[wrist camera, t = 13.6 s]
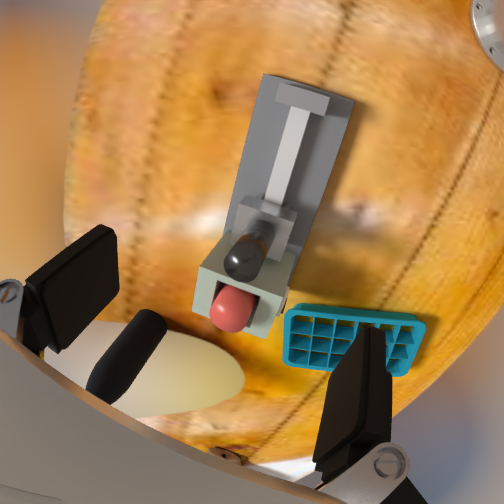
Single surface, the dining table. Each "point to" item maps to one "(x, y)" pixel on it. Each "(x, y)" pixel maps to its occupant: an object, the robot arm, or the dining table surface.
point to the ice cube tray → (347, 337)
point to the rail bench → (306, 162)
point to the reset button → (232, 308)
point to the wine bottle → (126, 356)
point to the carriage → (257, 236)
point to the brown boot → (224, 455)
